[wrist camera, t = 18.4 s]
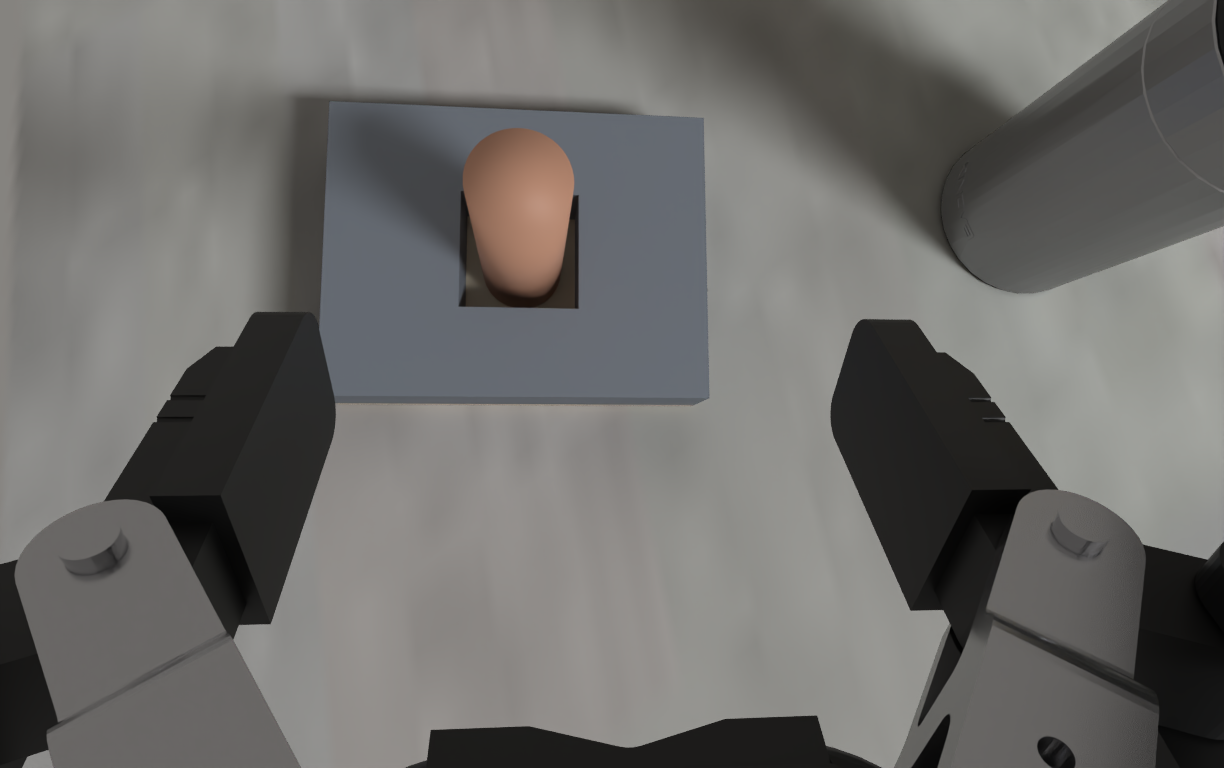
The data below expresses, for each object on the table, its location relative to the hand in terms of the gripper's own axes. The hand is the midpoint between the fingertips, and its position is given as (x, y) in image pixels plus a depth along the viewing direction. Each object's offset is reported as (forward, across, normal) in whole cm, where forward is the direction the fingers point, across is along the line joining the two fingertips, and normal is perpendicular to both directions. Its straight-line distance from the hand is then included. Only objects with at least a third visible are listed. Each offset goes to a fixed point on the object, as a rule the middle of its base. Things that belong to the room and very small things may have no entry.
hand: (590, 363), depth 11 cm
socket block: (+26, +2, +13) cm, 29 cm away
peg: (+25, +2, +13) cm, 28 cm away
